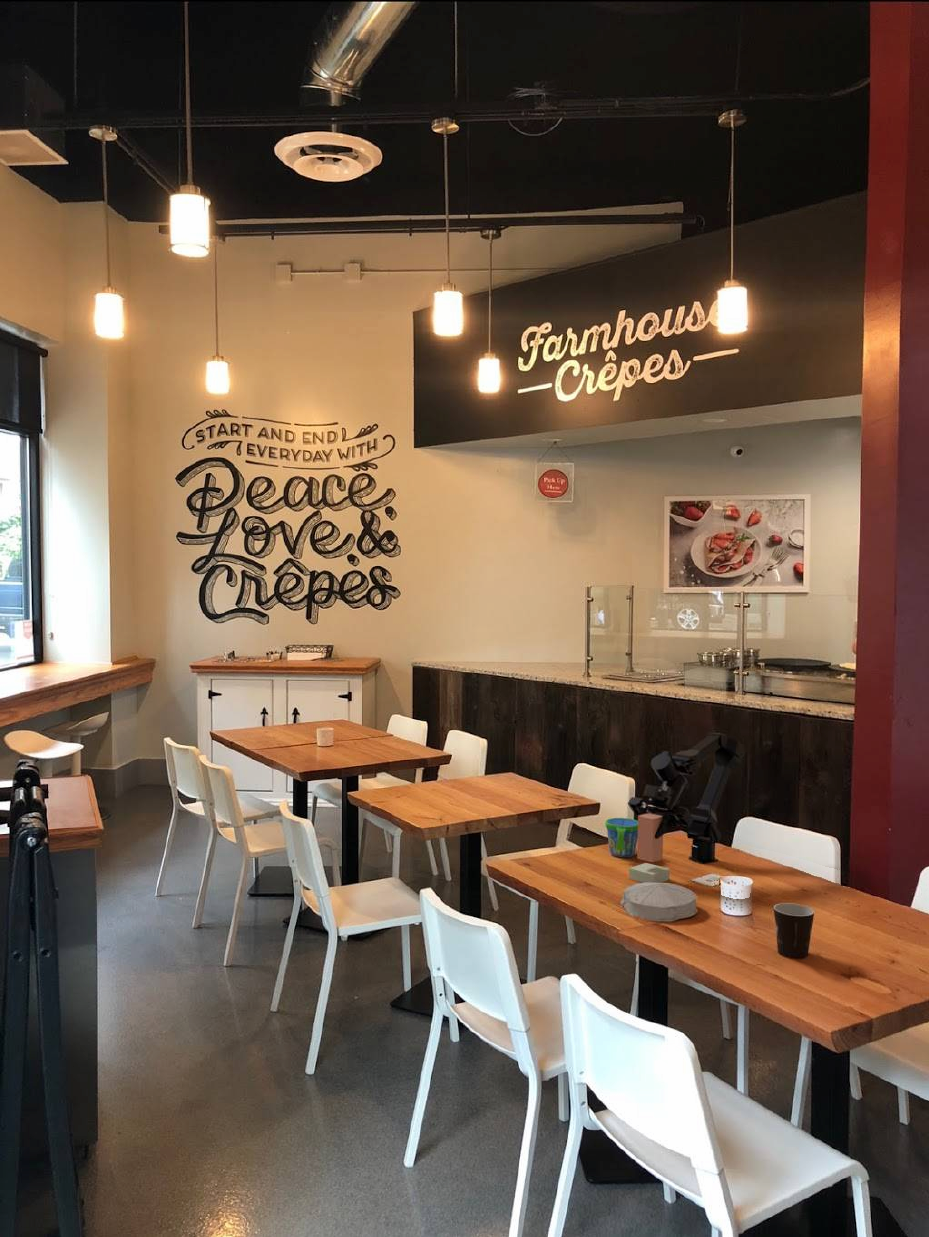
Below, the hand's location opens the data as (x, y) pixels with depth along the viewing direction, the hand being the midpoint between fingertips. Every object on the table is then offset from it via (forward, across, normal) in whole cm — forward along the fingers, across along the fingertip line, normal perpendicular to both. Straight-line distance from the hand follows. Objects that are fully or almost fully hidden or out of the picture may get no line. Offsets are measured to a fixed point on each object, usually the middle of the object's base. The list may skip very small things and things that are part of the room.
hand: (647, 836), depth 268 cm
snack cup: (-2, -20, +20) cm, 28 cm away
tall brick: (+4, 0, +6) cm, 7 cm away
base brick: (+8, 0, +10) cm, 13 cm away
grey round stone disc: (+21, +16, -3) cm, 27 cm away
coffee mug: (+25, +54, -7) cm, 60 cm away
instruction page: (-1, +13, +18) cm, 22 cm away
